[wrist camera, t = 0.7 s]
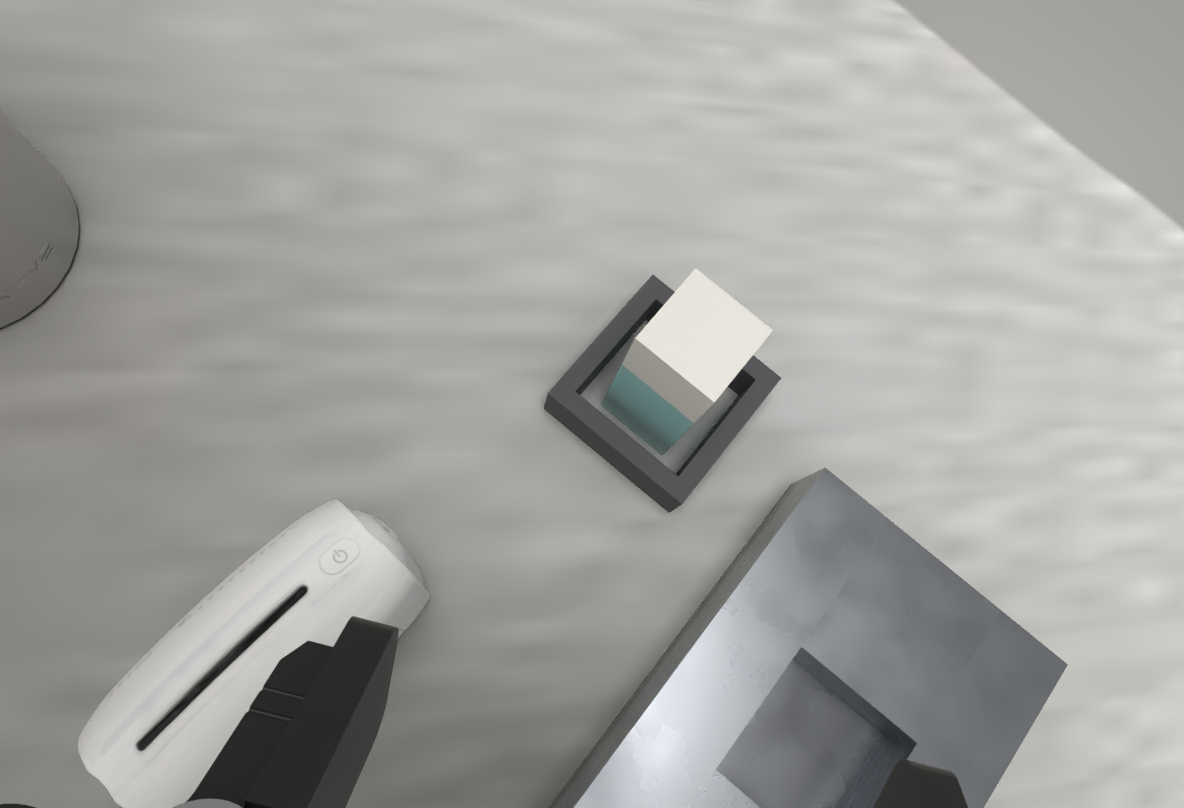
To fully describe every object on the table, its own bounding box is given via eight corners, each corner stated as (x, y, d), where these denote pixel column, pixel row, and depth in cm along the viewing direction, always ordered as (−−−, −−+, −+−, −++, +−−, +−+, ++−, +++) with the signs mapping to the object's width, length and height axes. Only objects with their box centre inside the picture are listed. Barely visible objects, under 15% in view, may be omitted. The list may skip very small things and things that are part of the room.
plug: (601, 404, 38) (635, 338, 30) (649, 348, 39) (695, 268, 31) (662, 455, 38) (714, 402, 30) (708, 397, 39) (772, 330, 31)
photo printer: (377, 518, 36) (324, 460, 24) (449, 591, 36) (432, 569, 24) (175, 709, 33) (5, 749, 21) (252, 791, 33) (121, 878, 21)
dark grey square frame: (543, 408, 38) (548, 393, 36) (642, 296, 40) (652, 274, 38) (669, 512, 38) (681, 504, 35) (763, 393, 40) (781, 378, 37)
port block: (528, 834, 34) (534, 859, 30) (790, 484, 39) (824, 467, 35) (771, 1047, 33) (810, 1102, 29) (1008, 661, 38) (1067, 664, 34)
